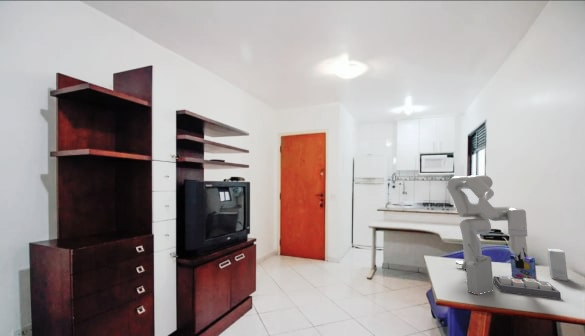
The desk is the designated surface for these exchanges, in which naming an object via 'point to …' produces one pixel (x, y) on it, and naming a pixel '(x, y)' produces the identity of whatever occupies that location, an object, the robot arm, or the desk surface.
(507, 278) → the key slate
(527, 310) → the desk surface
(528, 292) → the grey compartment tray
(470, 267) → the fuel canister
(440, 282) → the desk surface
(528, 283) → the key olive
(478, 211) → the robot arm
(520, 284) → the key terracotta
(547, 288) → the key charcoal
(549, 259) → the skincare box
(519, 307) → the desk surface
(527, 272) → the ink cartridge box
